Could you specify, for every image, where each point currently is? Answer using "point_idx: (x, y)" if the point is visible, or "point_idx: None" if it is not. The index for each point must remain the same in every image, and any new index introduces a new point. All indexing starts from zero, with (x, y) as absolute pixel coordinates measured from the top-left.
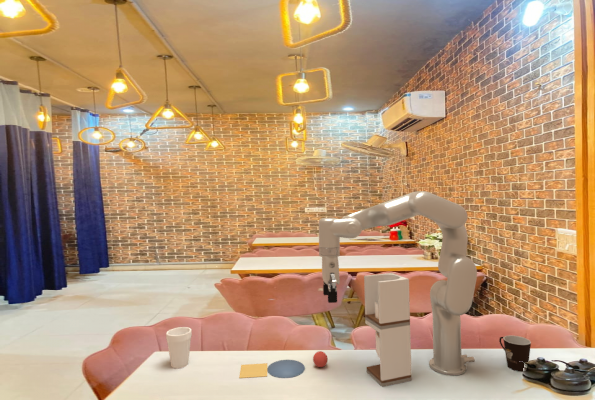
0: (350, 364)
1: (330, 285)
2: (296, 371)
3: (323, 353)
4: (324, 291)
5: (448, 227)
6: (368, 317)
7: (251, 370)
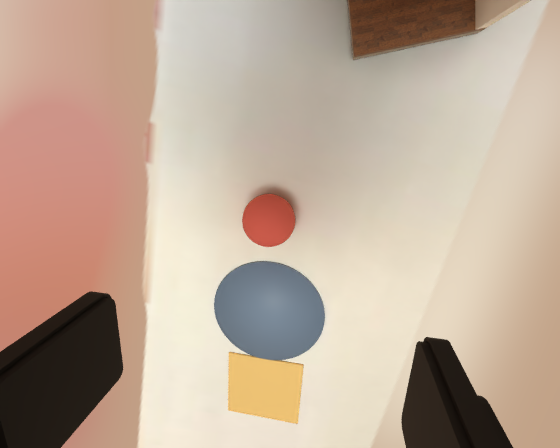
0: (278, 105)
1: (6, 398)
2: (294, 291)
3: (272, 217)
4: (94, 401)
5: None
6: None
7: (264, 394)
